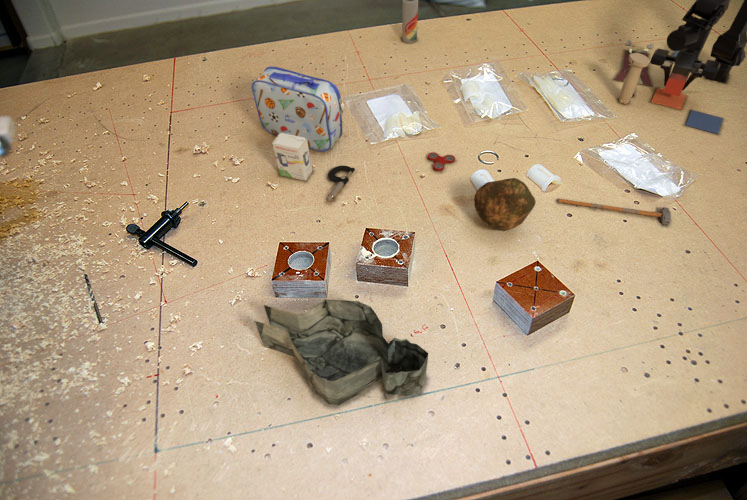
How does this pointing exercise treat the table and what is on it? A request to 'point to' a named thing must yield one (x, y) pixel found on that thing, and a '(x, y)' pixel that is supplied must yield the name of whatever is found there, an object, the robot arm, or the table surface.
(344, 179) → the micrometer
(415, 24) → the spray bottle
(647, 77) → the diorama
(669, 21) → the table surface
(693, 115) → the blue mat
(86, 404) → the table surface
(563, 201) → the sledgehammer
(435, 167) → the fidget spinner
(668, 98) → the orange square mat
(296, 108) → the lunch box
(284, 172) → the ink box
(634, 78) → the handle
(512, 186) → the rock
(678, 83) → the red block
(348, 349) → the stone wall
